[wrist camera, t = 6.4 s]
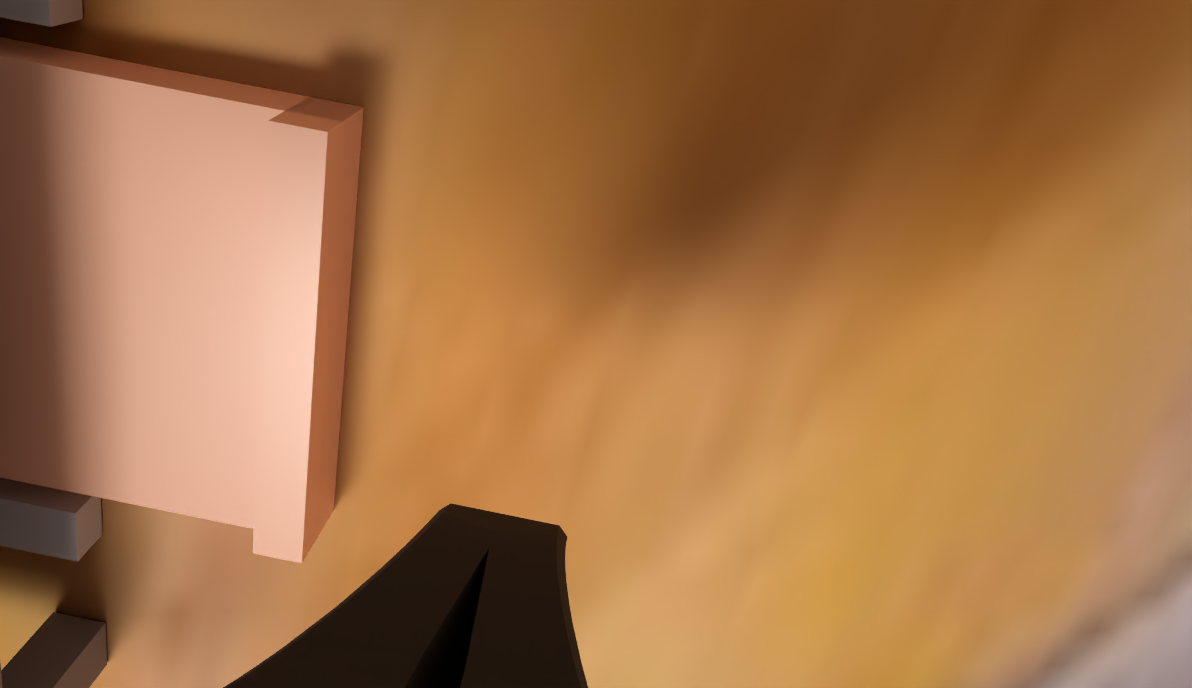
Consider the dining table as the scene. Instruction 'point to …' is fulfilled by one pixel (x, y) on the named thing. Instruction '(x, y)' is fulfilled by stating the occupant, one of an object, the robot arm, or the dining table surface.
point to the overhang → (52, 511)
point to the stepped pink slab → (174, 290)
